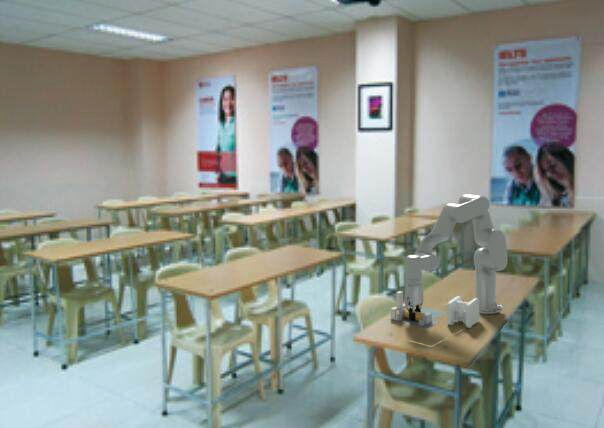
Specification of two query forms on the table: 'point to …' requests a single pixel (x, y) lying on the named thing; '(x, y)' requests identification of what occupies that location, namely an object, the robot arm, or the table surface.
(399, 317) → the board
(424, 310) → the mat
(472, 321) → the cable organizer
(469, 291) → the table surface
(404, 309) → the grey orange bar
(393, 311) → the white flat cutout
